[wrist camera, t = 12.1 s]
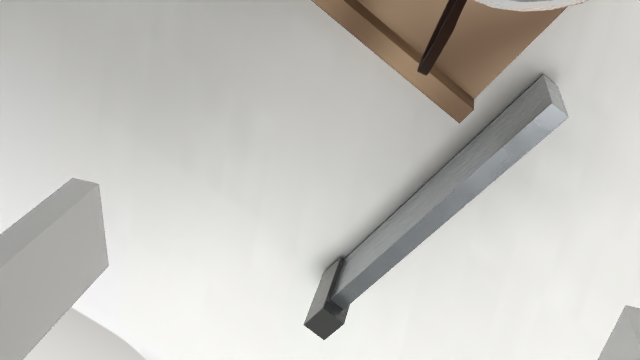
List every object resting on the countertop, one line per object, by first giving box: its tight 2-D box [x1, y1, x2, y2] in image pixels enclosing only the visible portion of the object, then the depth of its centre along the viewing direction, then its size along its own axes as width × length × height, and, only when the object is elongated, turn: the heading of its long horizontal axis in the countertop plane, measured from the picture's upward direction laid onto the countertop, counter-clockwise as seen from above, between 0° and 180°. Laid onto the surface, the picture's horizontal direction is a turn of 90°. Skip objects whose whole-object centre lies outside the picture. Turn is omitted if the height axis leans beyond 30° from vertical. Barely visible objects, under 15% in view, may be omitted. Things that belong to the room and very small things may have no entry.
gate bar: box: [304, 74, 568, 340], centre depth 31 cm, size 2×19×5 cm, turn 143°
